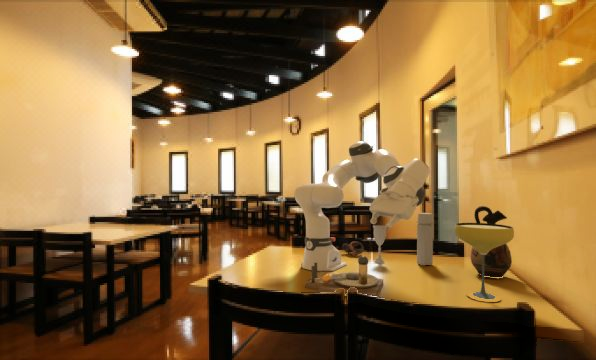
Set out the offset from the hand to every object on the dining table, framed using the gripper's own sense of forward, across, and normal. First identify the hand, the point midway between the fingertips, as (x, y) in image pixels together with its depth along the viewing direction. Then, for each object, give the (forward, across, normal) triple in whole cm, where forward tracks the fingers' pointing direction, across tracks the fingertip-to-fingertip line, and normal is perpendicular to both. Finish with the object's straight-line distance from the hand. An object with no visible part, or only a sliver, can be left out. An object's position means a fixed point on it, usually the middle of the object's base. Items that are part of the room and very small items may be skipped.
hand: (379, 224), depth 123 cm
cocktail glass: (-2, -17, -40) cm, 43 cm away
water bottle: (-13, +28, -53) cm, 62 cm away
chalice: (-1, +40, -39) cm, 56 cm away
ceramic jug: (-20, +2, -60) cm, 64 cm away
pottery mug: (+1, +61, -37) cm, 71 cm away
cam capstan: (+22, +8, -9) cm, 25 cm away
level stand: (+24, +11, -10) cm, 28 cm away
